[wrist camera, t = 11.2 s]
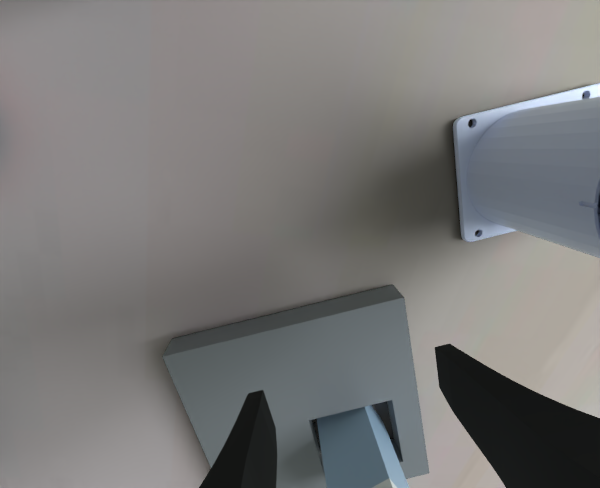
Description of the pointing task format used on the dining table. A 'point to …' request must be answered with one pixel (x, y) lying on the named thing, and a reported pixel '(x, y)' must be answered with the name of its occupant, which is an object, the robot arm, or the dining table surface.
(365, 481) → the plug block
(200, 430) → the grey socket board
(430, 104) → the dining table surface
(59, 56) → the dining table surface
